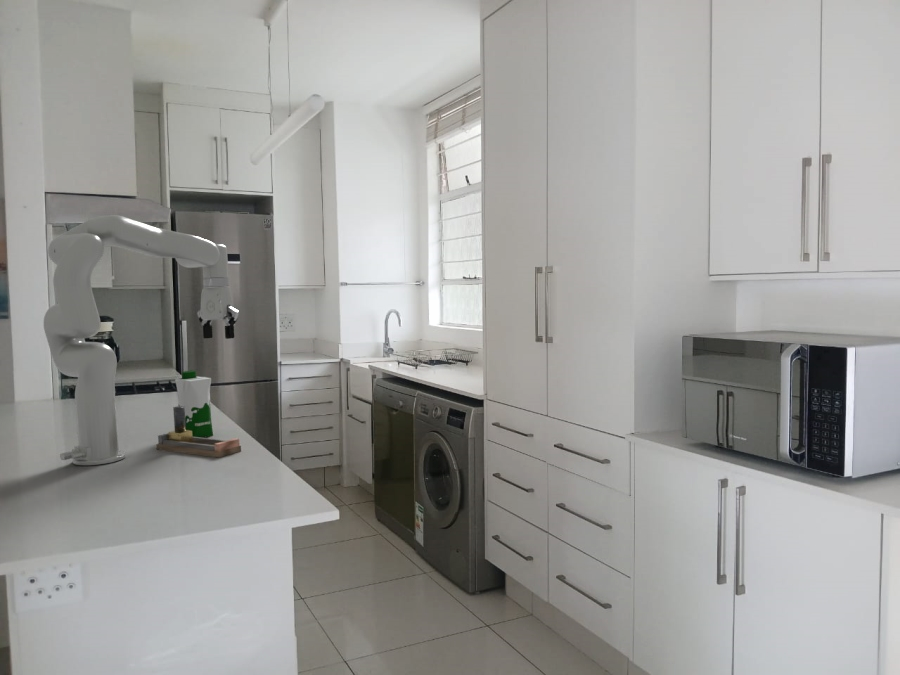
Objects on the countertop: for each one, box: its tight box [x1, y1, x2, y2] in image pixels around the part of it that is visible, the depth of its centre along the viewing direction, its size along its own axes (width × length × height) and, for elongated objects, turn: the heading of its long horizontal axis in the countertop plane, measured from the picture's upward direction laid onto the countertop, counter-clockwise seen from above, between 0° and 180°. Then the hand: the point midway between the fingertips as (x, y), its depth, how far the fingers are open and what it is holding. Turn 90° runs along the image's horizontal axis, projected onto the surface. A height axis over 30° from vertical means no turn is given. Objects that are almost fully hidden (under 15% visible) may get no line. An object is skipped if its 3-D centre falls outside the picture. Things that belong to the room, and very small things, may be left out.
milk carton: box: [174, 370, 214, 438], centre depth 212 cm, size 9×9×20 cm
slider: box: [168, 405, 193, 442], centre depth 197 cm, size 4×5×10 cm
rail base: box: [155, 432, 242, 458], centre depth 194 cm, size 8×25×4 cm, turn 60°
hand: (218, 338), depth 219 cm, fingers open, 9 cm apart
